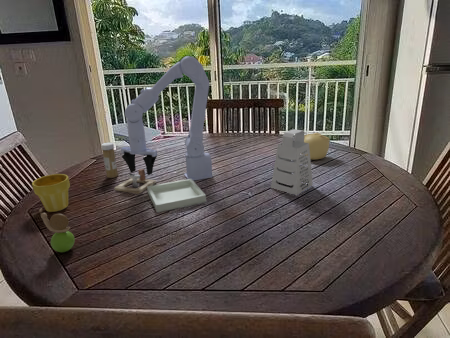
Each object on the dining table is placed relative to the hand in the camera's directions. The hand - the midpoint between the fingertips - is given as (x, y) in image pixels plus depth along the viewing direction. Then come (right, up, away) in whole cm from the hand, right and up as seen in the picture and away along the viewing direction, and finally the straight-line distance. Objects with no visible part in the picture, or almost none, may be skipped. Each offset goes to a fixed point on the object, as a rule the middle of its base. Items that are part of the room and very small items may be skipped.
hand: (141, 172), depth 125 cm
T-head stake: (-1, -5, -2) cm, 6 cm away
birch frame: (-1, -5, -2) cm, 6 cm away
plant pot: (-23, -11, -16) cm, 31 cm away
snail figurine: (-10, -20, -40) cm, 45 cm away
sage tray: (+15, -8, -13) cm, 21 cm away
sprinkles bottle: (-14, -2, +8) cm, 16 cm away
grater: (+55, -5, -8) cm, 55 cm away
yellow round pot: (+70, +6, +21) cm, 73 cm away
